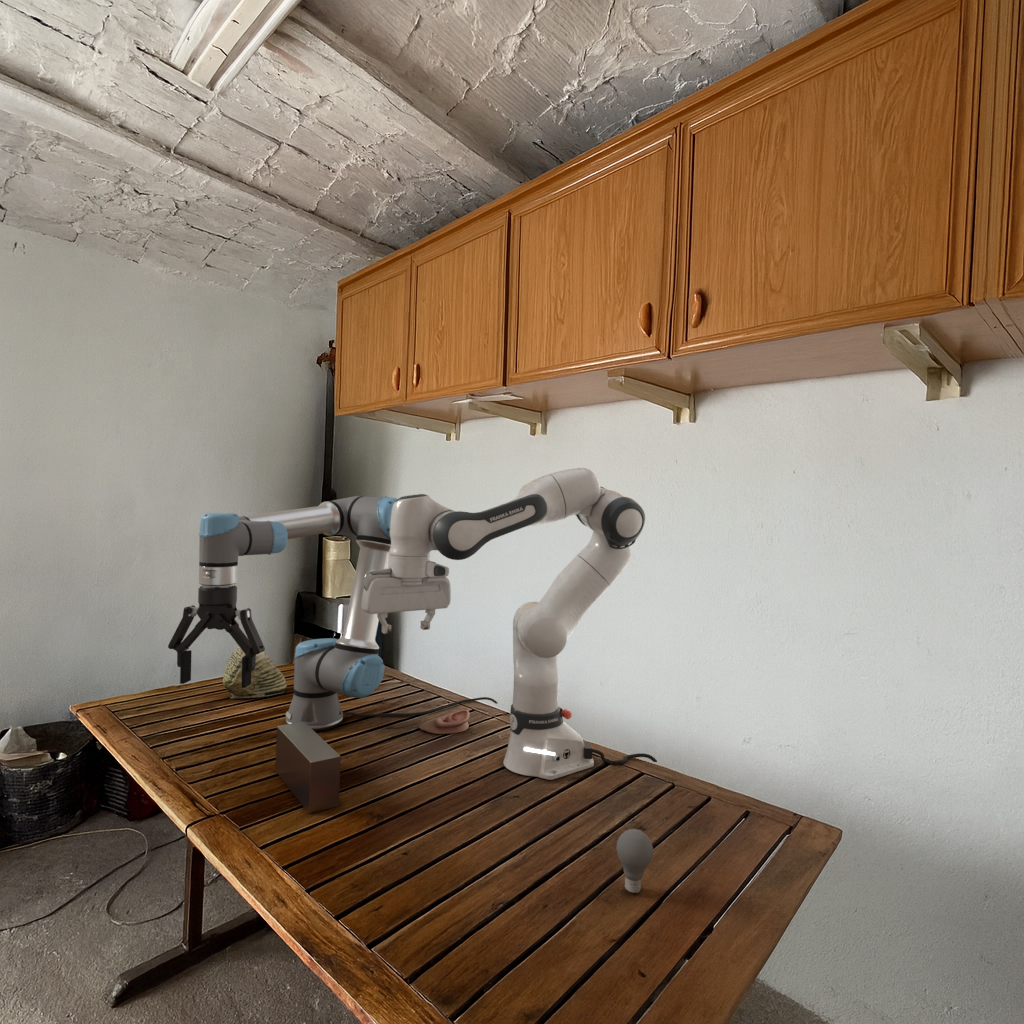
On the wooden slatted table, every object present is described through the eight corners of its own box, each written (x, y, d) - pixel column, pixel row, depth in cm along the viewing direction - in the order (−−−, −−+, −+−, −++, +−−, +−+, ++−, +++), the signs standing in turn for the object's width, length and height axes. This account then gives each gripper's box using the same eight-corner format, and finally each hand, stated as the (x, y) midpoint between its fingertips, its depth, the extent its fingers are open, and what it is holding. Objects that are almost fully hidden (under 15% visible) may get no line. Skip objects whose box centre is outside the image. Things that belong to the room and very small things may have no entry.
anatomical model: (415, 716, 173) (429, 704, 184) (414, 731, 173) (428, 717, 184) (462, 722, 170) (473, 709, 181) (461, 737, 170) (472, 722, 181)
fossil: (218, 695, 195) (220, 647, 195) (278, 685, 208) (279, 640, 207) (228, 703, 189) (230, 653, 188) (289, 692, 201) (290, 645, 201)
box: (275, 770, 145) (276, 725, 145) (302, 765, 149) (303, 721, 149) (308, 813, 126) (310, 762, 126) (338, 806, 130) (340, 756, 130)
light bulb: (610, 879, 108) (613, 822, 108) (644, 879, 109) (647, 822, 109) (619, 902, 102) (622, 840, 102) (655, 901, 103) (658, 840, 103)
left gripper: (151, 584, 132) (149, 685, 133) (266, 590, 130) (263, 692, 131) (173, 580, 140) (171, 675, 140) (282, 585, 138) (279, 682, 138)
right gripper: (370, 571, 129) (367, 638, 130) (455, 568, 142) (452, 629, 142) (357, 567, 134) (355, 632, 135) (441, 565, 147) (438, 624, 147)
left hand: (215, 684), depth 136 cm, fingers open, 13 cm apart
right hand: (406, 631), depth 139 cm, fingers open, 8 cm apart
